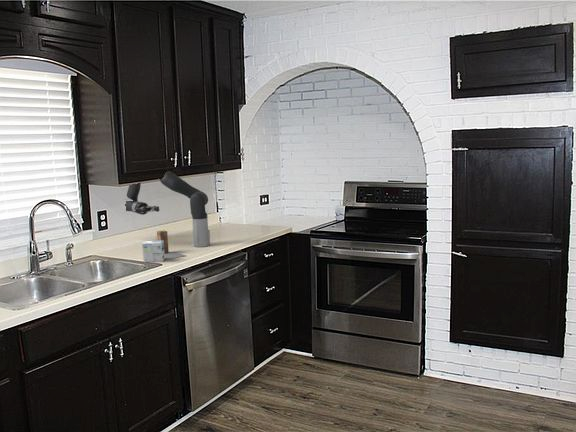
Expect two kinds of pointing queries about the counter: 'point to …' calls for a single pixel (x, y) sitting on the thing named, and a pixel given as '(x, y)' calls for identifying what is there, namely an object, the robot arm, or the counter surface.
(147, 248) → the light bulb box
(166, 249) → the walnut block
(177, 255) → the mat
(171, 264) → the counter surface
